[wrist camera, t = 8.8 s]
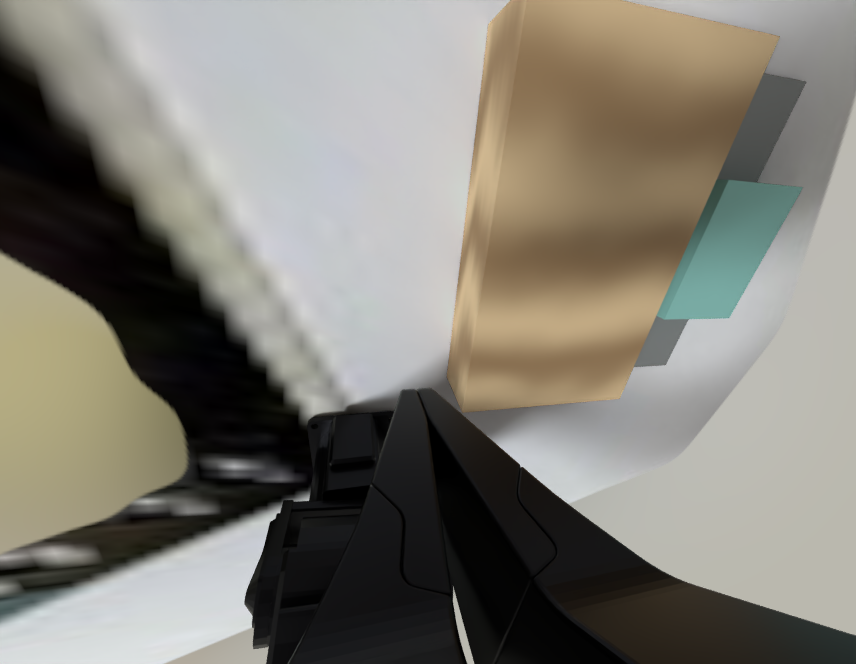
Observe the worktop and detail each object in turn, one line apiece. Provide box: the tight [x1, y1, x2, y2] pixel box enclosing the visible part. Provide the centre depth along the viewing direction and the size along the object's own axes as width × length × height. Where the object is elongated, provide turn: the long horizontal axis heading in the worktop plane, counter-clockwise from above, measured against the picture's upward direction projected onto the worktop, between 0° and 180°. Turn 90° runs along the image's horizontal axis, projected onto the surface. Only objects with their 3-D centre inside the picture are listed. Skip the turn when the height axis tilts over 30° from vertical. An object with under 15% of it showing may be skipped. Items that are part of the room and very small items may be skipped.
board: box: [447, 0, 780, 413], centre depth 19 cm, size 20×12×4 cm, turn 176°
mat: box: [634, 74, 806, 367], centre depth 22 cm, size 20×8×1 cm, turn 176°
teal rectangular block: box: [656, 179, 803, 320], centre depth 22 cm, size 9×6×2 cm, turn 175°
